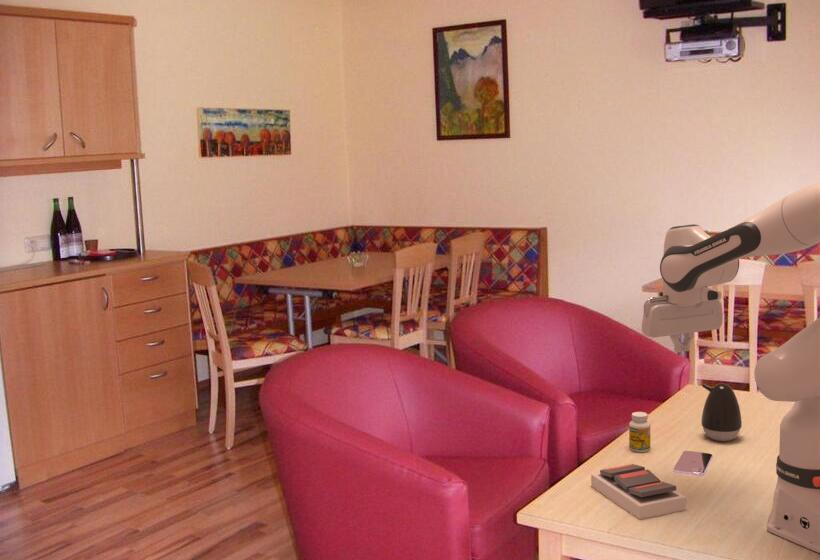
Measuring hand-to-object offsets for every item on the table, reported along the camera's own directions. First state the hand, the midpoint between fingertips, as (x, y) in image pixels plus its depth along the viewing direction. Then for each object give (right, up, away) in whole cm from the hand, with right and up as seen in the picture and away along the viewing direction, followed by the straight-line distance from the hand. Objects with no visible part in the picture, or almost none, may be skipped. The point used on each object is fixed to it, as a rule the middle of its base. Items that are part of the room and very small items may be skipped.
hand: (681, 351), depth 214 cm
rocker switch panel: (-12, -33, -6) cm, 35 cm away
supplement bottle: (-4, -28, +25) cm, 37 cm away
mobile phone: (+7, -30, +14) cm, 33 cm away
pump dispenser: (+20, -26, +31) cm, 44 cm away
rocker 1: (-14, -28, -1) cm, 31 cm away
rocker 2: (-12, -29, -6) cm, 32 cm away
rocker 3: (-10, -30, -12) cm, 34 cm away
